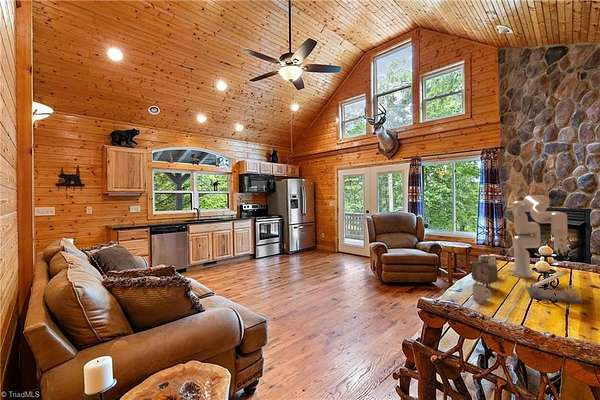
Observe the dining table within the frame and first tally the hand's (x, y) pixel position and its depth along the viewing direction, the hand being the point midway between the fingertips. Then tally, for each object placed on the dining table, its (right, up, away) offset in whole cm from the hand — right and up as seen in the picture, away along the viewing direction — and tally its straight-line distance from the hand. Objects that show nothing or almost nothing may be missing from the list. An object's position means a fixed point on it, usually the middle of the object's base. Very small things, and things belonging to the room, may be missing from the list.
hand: (560, 261), depth 179 cm
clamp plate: (-2, -23, +3) cm, 23 cm away
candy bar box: (-12, -23, +51) cm, 57 cm away
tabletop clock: (-30, -24, +26) cm, 47 cm away
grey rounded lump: (-47, -25, +3) cm, 54 cm away
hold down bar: (-3, -13, +3) cm, 13 cm away
